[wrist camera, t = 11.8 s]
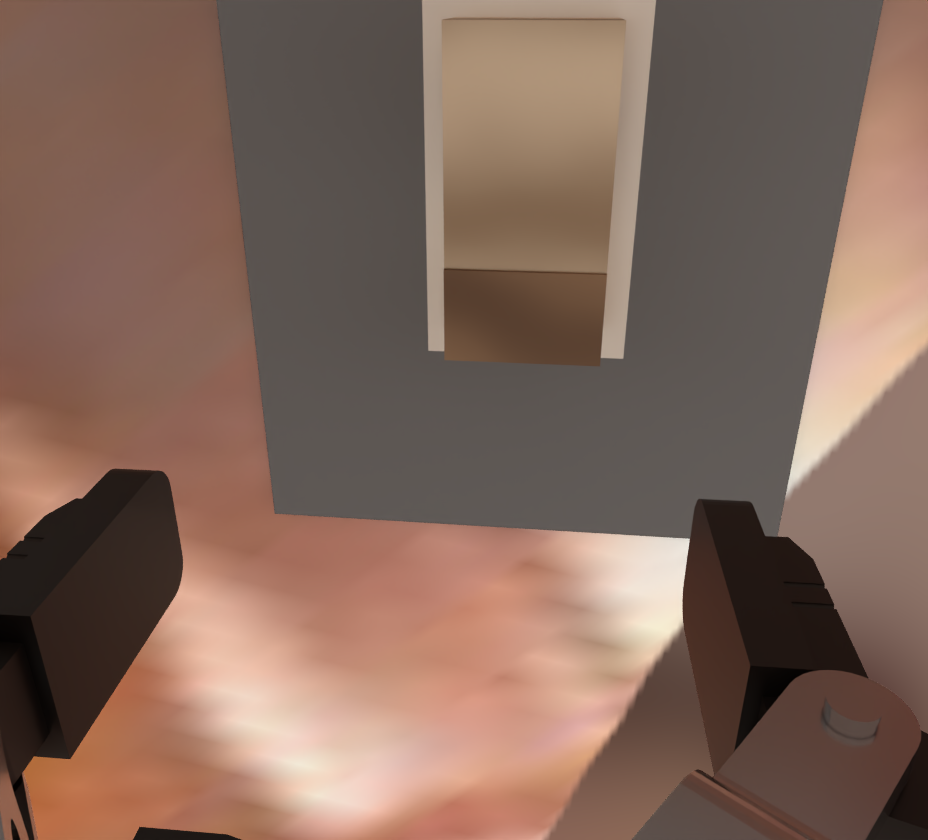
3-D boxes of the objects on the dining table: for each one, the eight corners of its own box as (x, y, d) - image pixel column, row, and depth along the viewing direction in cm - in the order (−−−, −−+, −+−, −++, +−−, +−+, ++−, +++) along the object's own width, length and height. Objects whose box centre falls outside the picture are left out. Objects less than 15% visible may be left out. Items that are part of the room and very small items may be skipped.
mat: (277, 508, 35) (274, 514, 35) (216, -39, 27) (210, -40, 26) (773, 537, 34) (776, 545, 33) (886, -40, 25) (892, -41, 24)
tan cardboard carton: (454, 17, 26) (440, 19, 23) (619, 17, 26) (626, 20, 23) (455, 326, 31) (444, 360, 28) (596, 331, 30) (600, 366, 27)
